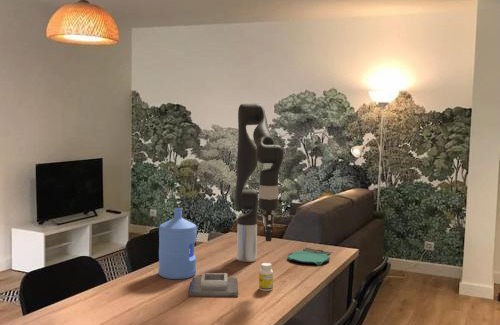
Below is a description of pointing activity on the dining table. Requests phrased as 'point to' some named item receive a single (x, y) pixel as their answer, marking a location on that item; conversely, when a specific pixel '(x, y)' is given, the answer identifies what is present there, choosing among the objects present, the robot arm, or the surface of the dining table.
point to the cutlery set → (310, 256)
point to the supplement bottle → (266, 277)
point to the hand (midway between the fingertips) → (267, 238)
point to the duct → (214, 285)
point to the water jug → (177, 248)
